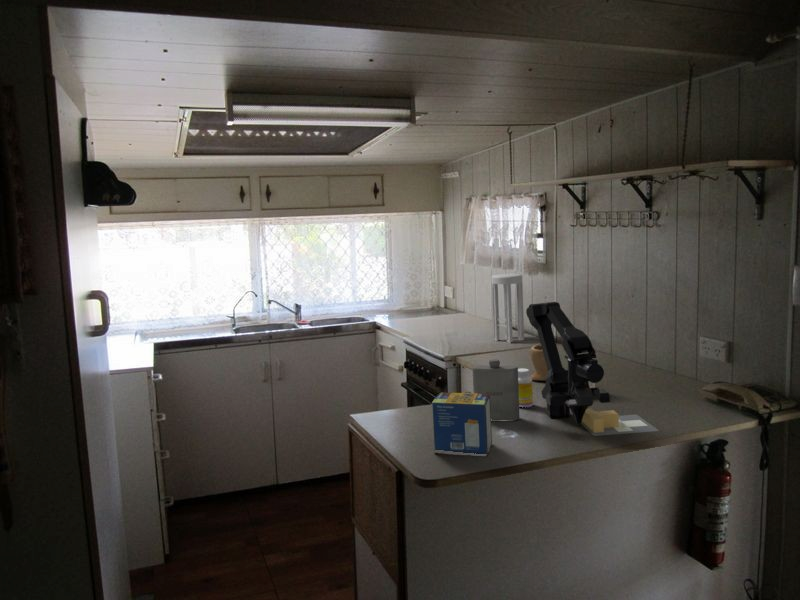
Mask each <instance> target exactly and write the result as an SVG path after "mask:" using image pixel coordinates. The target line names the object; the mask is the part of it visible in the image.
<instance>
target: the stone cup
mask: <svg viewBox="0 0 800 600" xmlns="http://www.w3.org/2000/svg"><path fill="white" fill-rule="evenodd" d="M529 354H530V360H531V362H532V364H533V367H534V371H535V372H533V373H531V375H529V377H531V378H532V381H533V380H534V381H542V382H543V381H545V379H546V376H547V373H548V369H547V365H546V362H545V358H544V354H543V350H542V347H541V343H537V344H535V345H533V346H531V348H530V350H529ZM545 382H546V381H545Z"/></svg>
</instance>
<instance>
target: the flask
mask: <svg viewBox="0 0 800 600" xmlns="http://www.w3.org/2000/svg"><path fill="white" fill-rule="evenodd" d="M471 368H472V389H473V391H472V393H478V394H490V408H491V419H492V420H516V421H518V420H520V408H519V386H518V369H519V367H518V366H516V365H510V364H509V365H501V361H500V359H495V358H493V359H490V360H489V361H488V365H487V364H477V365H473V366H472V367H471ZM517 419H518V420H517Z"/></svg>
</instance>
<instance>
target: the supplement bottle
mask: <svg viewBox="0 0 800 600" xmlns="http://www.w3.org/2000/svg"><path fill="white" fill-rule="evenodd" d="M518 386H519V407H522V408H521V409H524V408H523V407H525V409H526V407H527V408H531V407H532V406H533V405H534V397H533V395H534V394H533V380H532V378H531V377H530V370H529V369H528V368H522V367H521V368H518Z"/></svg>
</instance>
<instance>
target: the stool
mask: <svg viewBox="0 0 800 600" xmlns="http://www.w3.org/2000/svg"><path fill="white" fill-rule="evenodd" d="M490 278H491V299H492V300H491V302H492V303H491V304H492V305H491V306H492V328H493V329H492V330H493V332H492V333H493V341H494V340H495V341H494V342H499V341H498V340H500V341H501V339H500V338H501V337H500V328H501V327H502V328H504V337H505V338H504V339H506V343H507V342H508V343H507V344H512V343H511V342H513V343H514V339H513V337H514V336H513V325H517V339H518V340H517V341H521V340H522V341H524V340H525V325H524V324H525V323H524V322H525V321H524V319H525V318H524V289H523V287H524V286H523V274H520V273H498V274H493V275H491V277H490ZM512 284H513V285H515V284H516V285H515V287H516V311H517V315H516V316H515V315H513V313H512V311H513V310H512V309H513V307H512ZM498 285H503V309H504V310H503V312H504V318H501V317H500V313H499V311H500V309H499V286H498ZM513 319H515V320H517V321H513ZM500 322H504V324H503V323H500Z"/></svg>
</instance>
